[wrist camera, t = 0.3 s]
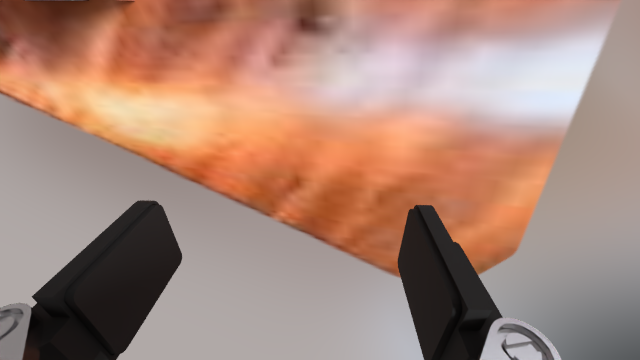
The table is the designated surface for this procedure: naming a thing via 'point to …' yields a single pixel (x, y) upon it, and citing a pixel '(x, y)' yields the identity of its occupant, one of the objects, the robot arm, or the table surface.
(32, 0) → the white boxy piece
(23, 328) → the robot arm
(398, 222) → the table surface
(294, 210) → the table surface
